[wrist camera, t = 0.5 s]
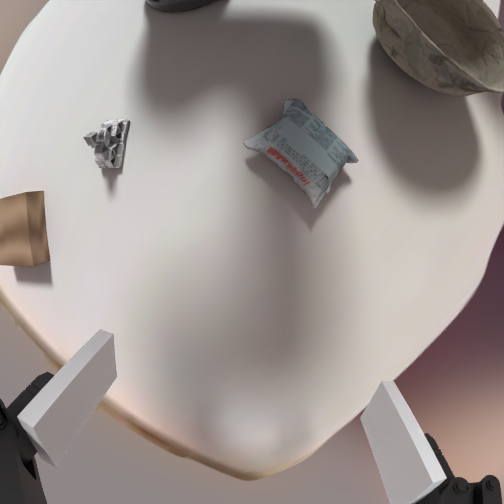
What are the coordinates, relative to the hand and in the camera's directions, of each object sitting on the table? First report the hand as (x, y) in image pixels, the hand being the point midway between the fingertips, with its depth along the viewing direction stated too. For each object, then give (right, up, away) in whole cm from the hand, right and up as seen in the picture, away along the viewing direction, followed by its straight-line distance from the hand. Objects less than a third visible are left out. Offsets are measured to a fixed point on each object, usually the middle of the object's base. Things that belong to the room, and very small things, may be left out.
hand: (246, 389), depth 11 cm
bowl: (+26, +38, +17) cm, 50 cm away
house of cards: (-22, +23, +23) cm, 39 cm away
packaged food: (+3, +20, +24) cm, 31 cm away
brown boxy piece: (-41, +11, +26) cm, 50 cm away
